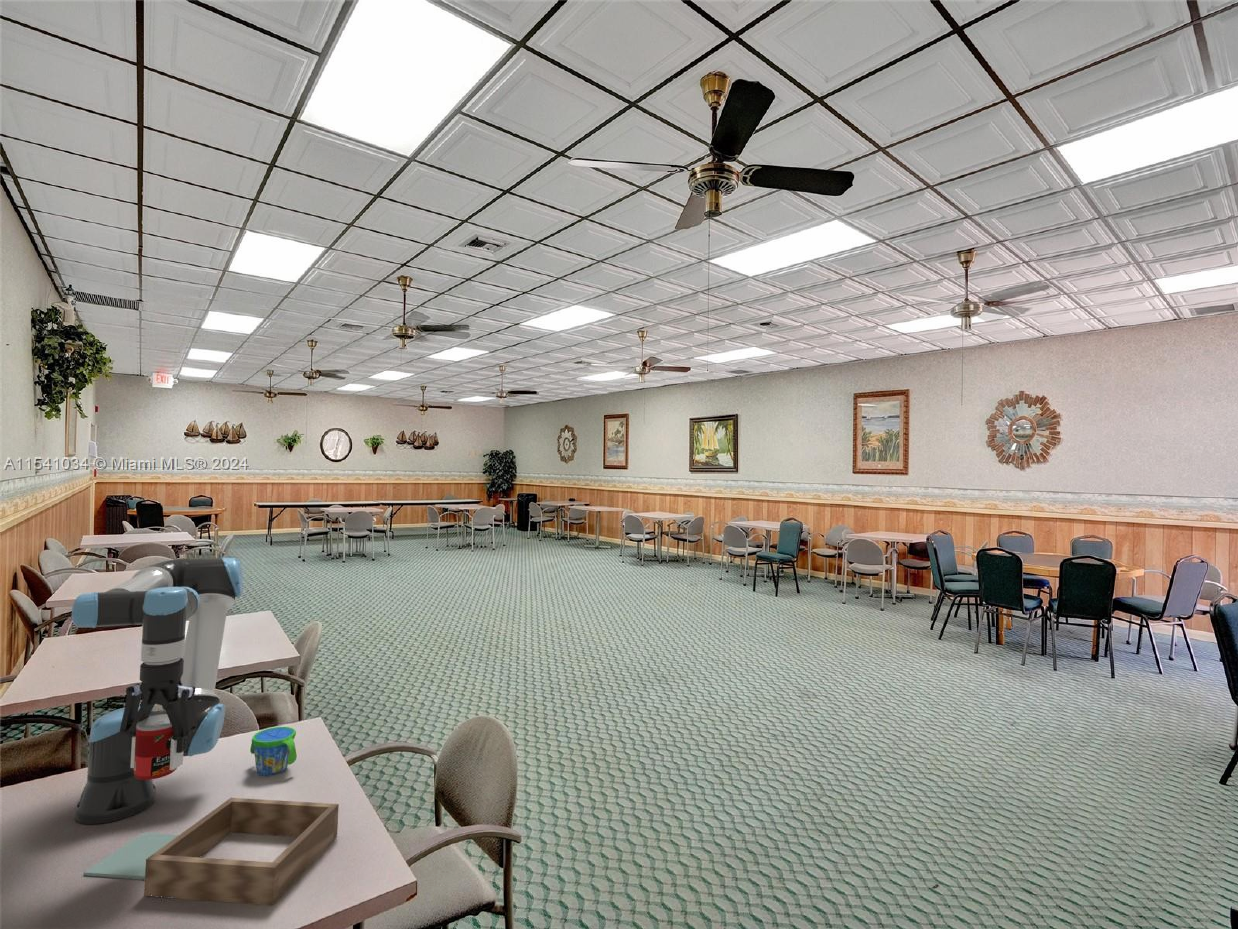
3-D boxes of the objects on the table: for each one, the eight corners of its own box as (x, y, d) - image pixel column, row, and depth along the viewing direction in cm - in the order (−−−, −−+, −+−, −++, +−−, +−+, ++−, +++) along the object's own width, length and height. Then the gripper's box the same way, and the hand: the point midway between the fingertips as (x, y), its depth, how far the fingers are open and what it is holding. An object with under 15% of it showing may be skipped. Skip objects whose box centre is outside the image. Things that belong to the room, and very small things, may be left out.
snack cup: (307, 770, 166) (309, 733, 166) (270, 786, 156) (272, 747, 157) (274, 756, 173) (276, 721, 174) (237, 771, 164) (239, 734, 164)
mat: (83, 875, 119) (83, 872, 119) (143, 835, 133) (143, 832, 133) (148, 880, 119) (149, 877, 119) (202, 839, 133) (202, 836, 133)
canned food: (154, 783, 123) (157, 729, 123) (123, 778, 124) (126, 725, 124) (187, 765, 130) (190, 715, 131) (157, 761, 132) (160, 711, 132)
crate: (143, 896, 114) (146, 859, 114) (229, 828, 137) (230, 797, 137) (272, 905, 112) (274, 867, 113) (337, 835, 135) (338, 804, 136)
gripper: (100, 663, 125) (94, 772, 124) (196, 667, 124) (190, 777, 123) (131, 653, 132) (125, 755, 131) (221, 657, 131) (216, 760, 131)
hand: (156, 765), depth 127 cm, fingers closed on canned food, 8 cm apart
